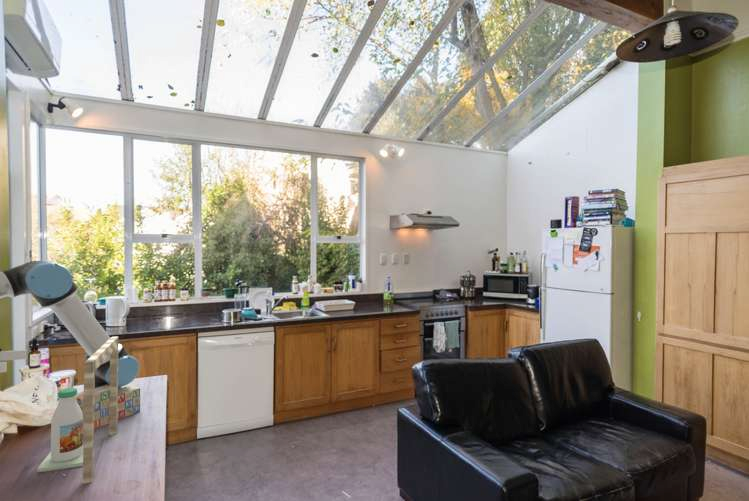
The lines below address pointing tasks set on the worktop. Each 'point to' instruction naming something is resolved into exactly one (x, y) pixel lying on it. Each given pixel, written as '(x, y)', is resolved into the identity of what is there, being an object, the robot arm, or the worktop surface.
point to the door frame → (89, 394)
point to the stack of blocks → (126, 403)
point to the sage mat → (59, 463)
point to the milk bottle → (67, 427)
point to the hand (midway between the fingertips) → (17, 360)
